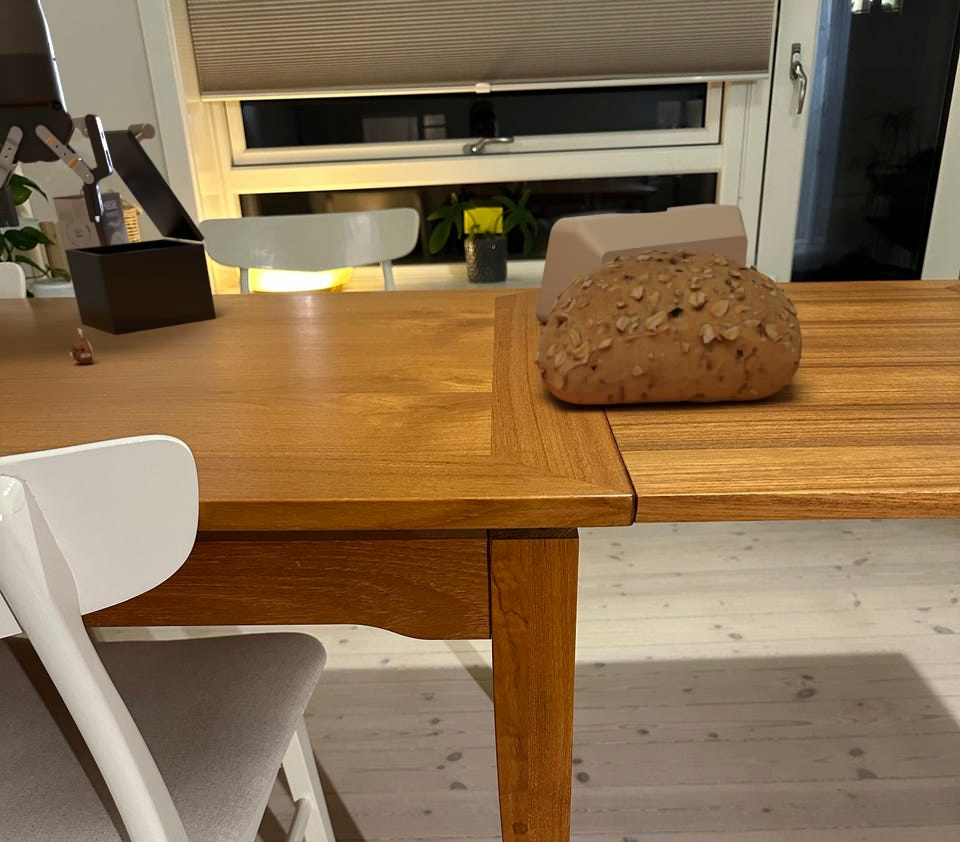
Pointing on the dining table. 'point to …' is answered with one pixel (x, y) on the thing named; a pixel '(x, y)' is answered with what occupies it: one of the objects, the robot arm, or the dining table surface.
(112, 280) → the open black box
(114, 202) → the coffee box
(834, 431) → the dining table surface
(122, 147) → the lid
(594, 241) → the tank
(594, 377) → the bread
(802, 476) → the dining table surface
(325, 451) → the dining table surface
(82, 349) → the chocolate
